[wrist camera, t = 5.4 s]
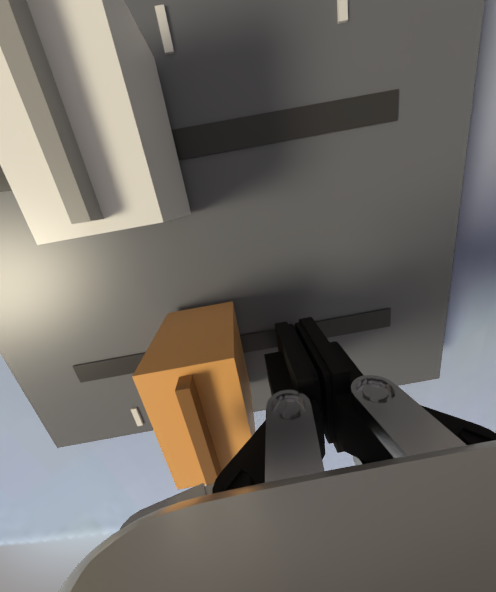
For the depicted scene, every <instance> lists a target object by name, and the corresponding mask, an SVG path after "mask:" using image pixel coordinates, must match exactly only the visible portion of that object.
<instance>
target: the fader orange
mask: <svg viewBox="0 0 496 592" xmlns="http://www.w3.org/2000/svg"><path fill="white" fill-rule="evenodd" d="M132 377H133V380H134V382H135V385H136V387H137V390H138V392H139V395H140V397H141V400H142V402H143V405H144V407H145V410H146V412H147V415H148V417H149V420H150V422H151V425H152V427H153V430H154V432H155V434H156V437H157V439H158V442H159V444H160V447H161V449H162V452H163V454H164V457H165V459H166V462H167V464H168V467H169V469H170V472H171V474H172V477H173V479H174V482H175V484H176V487H177V489H183V488H188V487H194V486H197V485H200V484H202V483H204V485H205V484H207V486H208V485H210V484H212V483H215V480H216V478H217V477H218V475H219V474H220V472H221V471H222V470H223V469H224V468H225V467H226V465H227V464H228V463H229V462H230V461H231V460H232V459H233V457H234V456H235V455H236V454H237V453H238V452H239V450H240V449H241V448H242V447H243V446H244V445H245V443H246V442H247V441H248V440H249V439H250V438H251V437H252V435H253V434H254V433H255V424H254V414H253V405H252V396H251V387H250V383H249V378H248V373H247V368H246V363H245V358H244V353H243V349H242V344H241V339H240V334H239V329H238V324H237V319H236V314H235V310H234V305H233V301H231V302H226V303H220V304H215V305H209V306H204V307H198V308H193V309H187V310H182V311H176V312H171V313H168V314H167V316H166V317H165V319H164V321H163V323H162V324H161V326H160V328H159V330H158V331H157V333H156V335H155V337H154V339H153V340H152V342H151V344H150V346H149V347H148V349H147V351H146V353H145V354H144V356H143V358H142V360H141V362H140V363H139V365H138V367H137V369H136V370H135V372H134V374H133V376H132Z"/></svg>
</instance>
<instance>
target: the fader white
mask: <svg viewBox="0 0 496 592" xmlns="http://www.w3.org/2000/svg"><path fill="white" fill-rule="evenodd" d="M0 165H1V168H2V170H3V172H4V174H5V176H6V178H7V181H8V183H9V185H10V187H11V189H12V191H13V194H14V196H15V198H16V200H17V202H18V204H19V207H20V209H21V211H22V213H23V215H24V217H25V220H26V222H27V224H28V226H29V228H30V230H31V233H32V235H33V237H34V239H35V241H36V243H37V245H41V244H46V243H52V242H57V241H63V240H68V239H74V238H79V237H85V236H90V235H96V234H101V233H107V232H112V231H118V230H123V229H129V228H134V227H140V226H145V225H151V224H157V223H162V222H166V221H169V220H173V219H176V218H179V217H183V216H186V215H189V214H191V211H190V207H189V202H188V198H187V194H186V190H185V186H184V181H183V177H182V173H181V169H180V164H179V160H178V156H177V152H176V148H175V143H174V139H173V135H172V131H171V126H170V122H169V118H168V114H167V110H166V105H165V101H164V97H163V93H162V88H161V84H160V80H159V76H158V72H157V67H156V63H155V59H154V56H153V54H152V53H151V51H150V49H149V47H148V45H147V43H146V41H145V39H144V37H143V35H142V34H141V32H140V30H139V28H138V26H137V24H136V22H135V20H134V18H133V17H132V15H131V13H130V11H129V9H128V7H127V5H126V3H125V1H124V0H0Z"/></svg>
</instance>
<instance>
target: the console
mask: <svg viewBox="0 0 496 592" xmlns="http://www.w3.org/2000/svg"><path fill="white" fill-rule="evenodd" d="M124 1H125V3H126V5H127V7H128V9H129V11H130V13H131V15H132V17H133V18H134V20H135V22H136V24H137V26H138V28H139V30H140V32H141V34H142V35H143V37H144V39H145V41H146V43H147V45H148V47H149V49H150V51H151V53H152V54H153V56H154V59H155V63H156V67H157V72H158V76H159V80H160V84H161V88H162V93H163V97H164V101H165V105H166V110H167V114H168V118H169V122H170V126H171V131H172V135H173V139H174V143H175V148H176V152H177V156H178V160H179V164H180V169H181V173H182V177H183V181H184V186H185V190H186V194H187V198H188V202H189V207H190V211H191V214H189V215H186V216H183V217H179V218H176V219H173V220H169V221H166V222H162V223H157V224H151V225H145V226H140V227H134V228H129V229H123V230H118V231H112V232H107V233H101V234H96V235H90V236H85V237H79V238H74V239H68V240H63V241H57V242H52V243H46V244H41V245H37V243H36V241H35V239H34V237H33V235H32V233H31V230H30V228H29V226H28V224H27V222H26V220H25V217H24V215H23V213H22V211H21V209H20V207H19V204H18V202H17V200H16V198H15V196H14V194H13V191H12V189H11V187H10V185H9V183H8V181H7V178H6V176H5V174H4V172H3V170H2V168H1V165H0V354H1V355H2V357H3V359H4V360H5V362H6V364H7V365H8V367H9V369H10V370H11V372H12V374H13V375H14V377H15V379H16V380H17V382H18V384H19V385H20V387H21V389H22V390H23V392H24V394H25V395H26V397H27V398H28V400H29V402H30V403H31V405H32V407H33V408H34V410H35V412H36V413H37V415H38V417H39V418H40V420H41V422H42V423H43V425H44V427H45V428H46V430H47V432H48V433H49V435H50V437H51V438H52V440H53V441H54V443H55V445H56V446H57V448H59V447H64V446H70V445H75V444H81V443H86V442H92V441H97V440H103V439H108V438H114V437H119V436H125V435H130V434H136V433H141V432H147V431H152V430H153V427H152V425H151V422H150V420H149V417H148V415H147V412H146V410H145V407H144V405H143V402H142V400H141V397H140V395H139V392H138V390H137V387H136V385H135V382H134V380H133V377H132V376H133V374H134V372H135V370H136V369H137V367H138V365H139V363H140V362H141V360H142V358H143V356H144V354H145V353H146V351H147V349H148V347H149V346H150V344H151V342H152V340H153V339H154V337H155V335H156V333H157V331H158V330H159V328H160V326H161V324H162V323H163V321H164V319H165V317H166V316H167V314H168V313H171V312H176V311H182V310H187V309H193V308H198V307H204V306H209V305H215V304H220V303H226V302H231V301H233V305H234V310H235V314H236V319H237V324H238V329H239V334H240V339H241V344H242V349H243V353H244V358H245V363H246V368H247V373H248V378H249V383H250V387H251V396H252V405H253V412H256V411H262V410H266V405H267V401H268V400H269V398H270V397H271V396H272V395H271V390H270V386H269V381H268V375H267V370H266V364H265V358H264V354H268V353H274V352H278V345H277V338H276V331H275V323H280V322H285V321H287V323H288V324H292V325H293V326H294V328H295V323H297V322H299V319H302V318H307V317H312V318H313V320H314V321H315V322H316V324H317V325H318V327H319V328H320V329H321V331H322V332H323V334H324V335H325V336H326V338H327V339H328V341H329V342H334V341H337V342H338V343H339V344H340V346H341V347H342V348H343V349H344V351H345V352H346V353H347V355H348V356H349V357H350V359H351V360H352V361H353V362H354V364H355V365H356V366H357V368H358V369H359V370H360V371H361V373H362V374H363V375H364V376H365V375H375V376H380V377H383V378H386V379H388V380H390V381H391V382H393V383H394V384H396V385H397V386H399V385H404V384H410V383H415V382H421V381H426V380H432V379H437V378H439V376H440V368H441V359H442V351H443V343H444V334H445V326H446V318H447V310H448V301H449V293H450V285H451V276H452V268H453V260H454V252H455V243H456V235H457V227H458V218H459V210H460V202H461V193H462V185H463V177H464V169H465V160H466V152H467V144H468V135H469V127H470V119H471V111H472V102H473V94H474V86H475V77H476V69H477V61H478V53H479V44H480V36H481V28H482V19H483V11H484V3H485V0H124Z"/></svg>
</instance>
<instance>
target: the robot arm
mask: <svg viewBox="0 0 496 592" xmlns="http://www.w3.org/2000/svg"><path fill="white" fill-rule="evenodd" d="M275 331H276V338H277V345H278V352H274V353H268V354H264V358H265V364H266V370H267V375H268V381H269V386H270V390H271V395H272V396H271V397H270V398H269V400H268V401H267V405H266V420H265V422H264V423H263V424H262V425H261V426H260V427H259V428H258V430H257V431H256V432H255V433H254V434H253V435H252V437H251V438H250V439H249V440H248V441H247V442H246V443H245V445H244V446H243V447H242V448H241V449H240V450H239V452H238V453H237V454H236V455H235V456H234V457H233V459H232V460H231V461H230V462H229V463H228V464H227V465H226V467H225V468H224V469H223V470H222V471H221V472H220V474H219V475H218V477H217V478H216V480H215V483H212V484H210V485H208V486H204V483H202V484H200V485H197V486H195V487H193V488H191V489H188V490H186V491H184V492H181V493H179V494H177V495H174V496H172V497H170V498H167V499H165V500H163V501H161V502H158V503H156V504H154V505H151V506H149V507H147V508H144V509H142V510H140V511H138V512H137V513H135V514H134V515H132V516H131V517H130V518H129V519H128V520H127V521H126V522H125V523H124V524H123V525H122V527H121V528H120V530H119V531H117V532H116V533H114V534H113V535H111V536H110V537H109V538H107V539H106V540H105V541H103V542H102V543H101V544H100V545H98V546H97V547H96V548H95V549H94V550H92V551H91V552H90V553H89V554H88V555H87V556H86V557H85V558H84V559H83V560H82V561H81V562H80V563H79V564H78V565H77V567H76V568H75V569H74V570H73V572H72V573H71V574H70V576H69V577H68V578H67V580H66V581H65V583H64V584H63V586H62V587H61V589H60V590H59V592H496V433H494V432H493V431H491V430H489V429H487V428H485V427H482V426H480V425H477V424H474V423H471V422H468V421H465V420H463V419H460V418H457V417H454V416H451V415H448V414H445V413H442V412H439V411H436V410H433V409H430V408H427V407H424V406H421V405H419V404H418V403H417V402H416V401H414V400H413V399H412V398H411V397H410V396H409V395H407V394H406V393H405V392H404V391H403V390H402V389H400V388H399V387H398V386H397V385H396V384H394V383H393V382H391V381H390V380H388V379H386V378H383V377H380V376H375V375H365V376H364V375H363V374H362V373H361V371H360V370H359V369H358V368H357V366H356V365H355V364H354V362H353V361H352V360H351V359H350V357H349V356H348V355H347V353H346V352H345V351H344V349H343V348H342V347H341V346H340V344H339V343H338V342H337V341H334V342H329V341H328V339H327V338H326V336H325V335H324V334H323V332H322V331H321V329H320V328H319V327H318V325H317V324H316V322H315V321H314V320H313V318H312V317H307V318H302V319H299V322H297V323H295V328H294V326H293V325H292V324H288V323H287V321H285V322H280V323H275ZM324 434H325V437H326V439H327V441H328V443H334V446H335V448H336V450H337V453H338V452H344V451H345V452H347V453H349V454H351V455H353V460H354V462H355V465H356V466H351V467H345V468H340V469H335V470H329V471H324V467H323V462H322V459H323V457H324V455H325V445H324V444H325V440H324Z"/></svg>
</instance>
